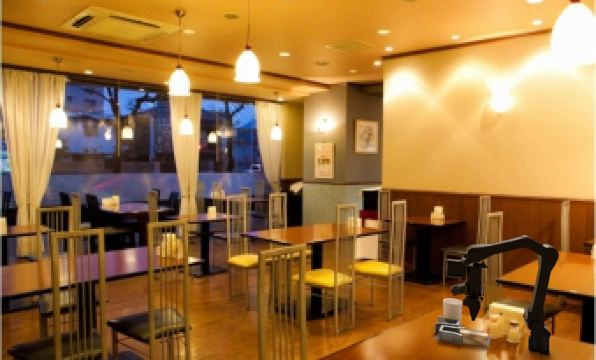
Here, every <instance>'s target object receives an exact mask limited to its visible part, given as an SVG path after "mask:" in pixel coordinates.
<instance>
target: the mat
mask: <svg viewBox="0 0 596 360" xmlns="http://www.w3.org/2000/svg"><path fill="white" fill-rule="evenodd" d="M465 330H469V331H476V332H482V333H484V332H485V331H482V330H474V329H468V328H465ZM491 338H492V336H491V337H488V346H487V347H484V346H478V345H472V344H466V343H463V345H462V346H464V345H465V346H469V347H470V346H471V347H477V348H483V349H490V344H491ZM433 340H434V341H439V333H435V336H434V338H433Z"/></svg>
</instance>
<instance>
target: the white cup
mask: <svg viewBox="0 0 596 360" xmlns="http://www.w3.org/2000/svg"><path fill="white" fill-rule="evenodd" d="M442 310H443V317H444V318H450V319H457V320H460V325H461V324H462V323H461V322H462V314H463V312H462V311H463V300H461V299H457V298H444V299H442Z"/></svg>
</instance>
